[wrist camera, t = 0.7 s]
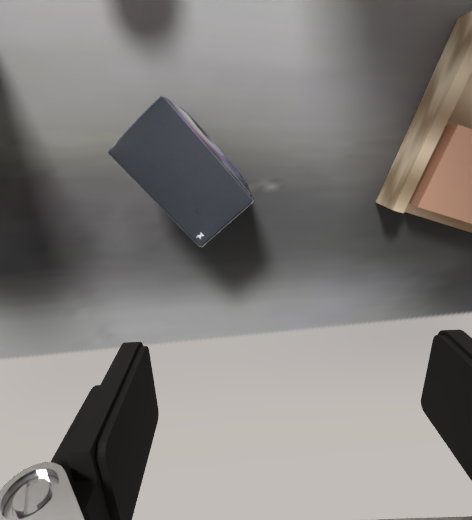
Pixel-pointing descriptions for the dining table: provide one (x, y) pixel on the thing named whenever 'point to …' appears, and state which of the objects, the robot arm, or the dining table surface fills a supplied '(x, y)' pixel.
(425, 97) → the wooden tray
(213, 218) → the small box
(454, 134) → the cover plate
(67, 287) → the dining table surface
